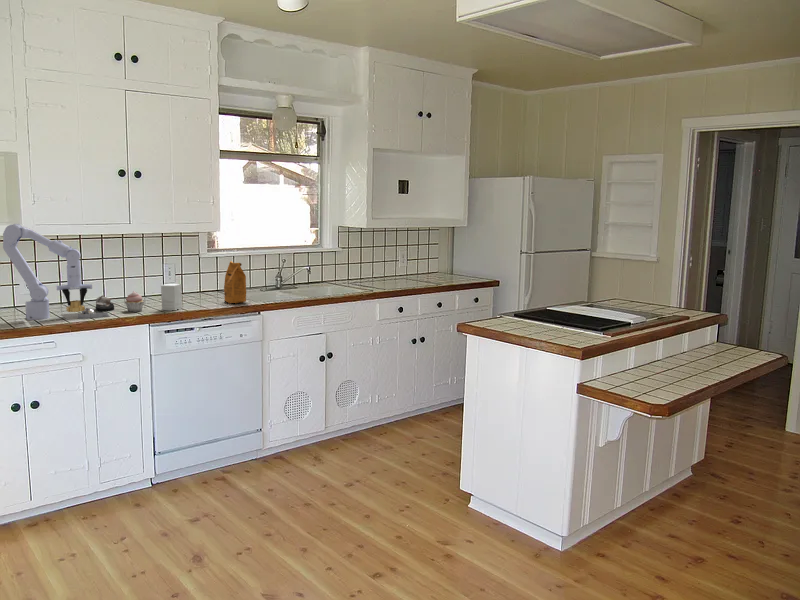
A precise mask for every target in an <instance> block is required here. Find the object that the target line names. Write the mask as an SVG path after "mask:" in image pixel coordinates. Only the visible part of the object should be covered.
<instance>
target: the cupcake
mask: <svg viewBox="0 0 800 600" xmlns="http://www.w3.org/2000/svg"><path fill="white" fill-rule="evenodd" d="M124 304H125V305H126V309H127V311H128V312H130V313H138V311H139V312H141V311H142V310H143V307H144V304H145V300H143V296H142V295H141V294H139V293H138V292H136V291H135V290H133V291H132V293H129V294H128V295H127V297H126V298H125V301H124Z"/></svg>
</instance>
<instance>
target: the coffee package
mask: <svg viewBox="0 0 800 600" xmlns="http://www.w3.org/2000/svg"><path fill="white" fill-rule="evenodd" d="M242 265H243V264H242V263H241V262H233V261H232V260H231V261H229V263H228V266H227V269H226V271H225V276H224V284H223V285H224V287H223V290H224V291H223V292H224V293H223V294H224V298H223V299H224V302H225V301H226V302H225V303H227V302H228V303H227V304H231V303H235V304H241V303H245V302H247V276H246V274H245V272H244V270H243V268H242V267H241V266H242Z"/></svg>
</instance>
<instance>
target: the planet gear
mask: <svg viewBox="0 0 800 600" xmlns="http://www.w3.org/2000/svg"><path fill="white" fill-rule="evenodd" d="M65 308H66V309H65V310H66V312H68V313H81V312H82V311H84V310H85V309H86V307H85V305H84V304H83V305H81V301H80V299H75V300H70V306H68V305H67V306H66V307H65Z"/></svg>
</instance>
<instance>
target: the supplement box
mask: <svg viewBox="0 0 800 600" xmlns="http://www.w3.org/2000/svg"><path fill="white" fill-rule="evenodd" d="M160 293H161V295H160V296H161V297H160V298H161V310H162V311H172V310H176V311H178V310H177V309H179V310H182V309H183V302H182V301H183V299H182V297H183V296H182V284H181V283H180V284H179V283H165V284H161V285H160ZM181 308H182V309H181Z"/></svg>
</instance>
